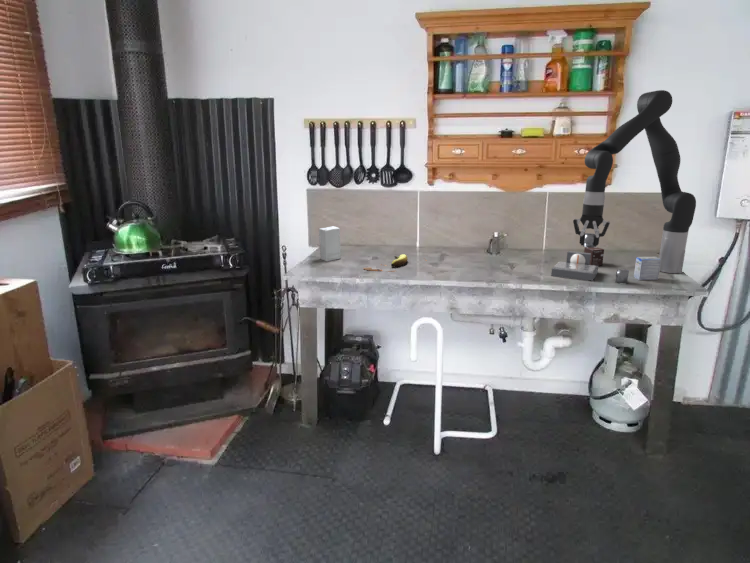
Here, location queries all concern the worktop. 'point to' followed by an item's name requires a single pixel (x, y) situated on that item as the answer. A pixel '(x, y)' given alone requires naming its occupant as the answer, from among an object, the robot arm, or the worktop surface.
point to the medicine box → (647, 268)
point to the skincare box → (329, 243)
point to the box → (595, 255)
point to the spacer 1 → (589, 240)
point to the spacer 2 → (622, 275)
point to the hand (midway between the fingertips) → (588, 245)
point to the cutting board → (394, 263)
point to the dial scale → (576, 267)
